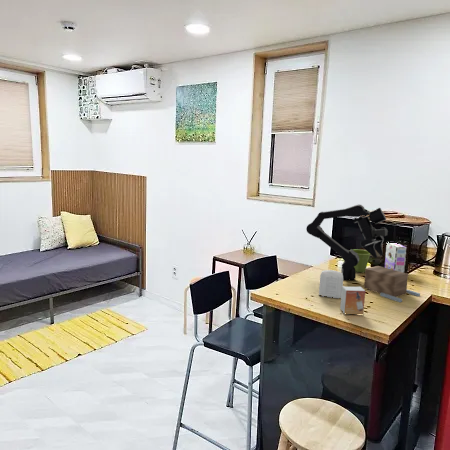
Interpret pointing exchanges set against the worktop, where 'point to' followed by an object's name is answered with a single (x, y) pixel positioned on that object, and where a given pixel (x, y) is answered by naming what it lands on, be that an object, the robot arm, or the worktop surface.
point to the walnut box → (386, 281)
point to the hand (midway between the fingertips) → (379, 256)
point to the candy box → (395, 257)
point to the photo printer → (331, 283)
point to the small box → (352, 300)
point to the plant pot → (362, 260)
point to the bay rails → (399, 298)
